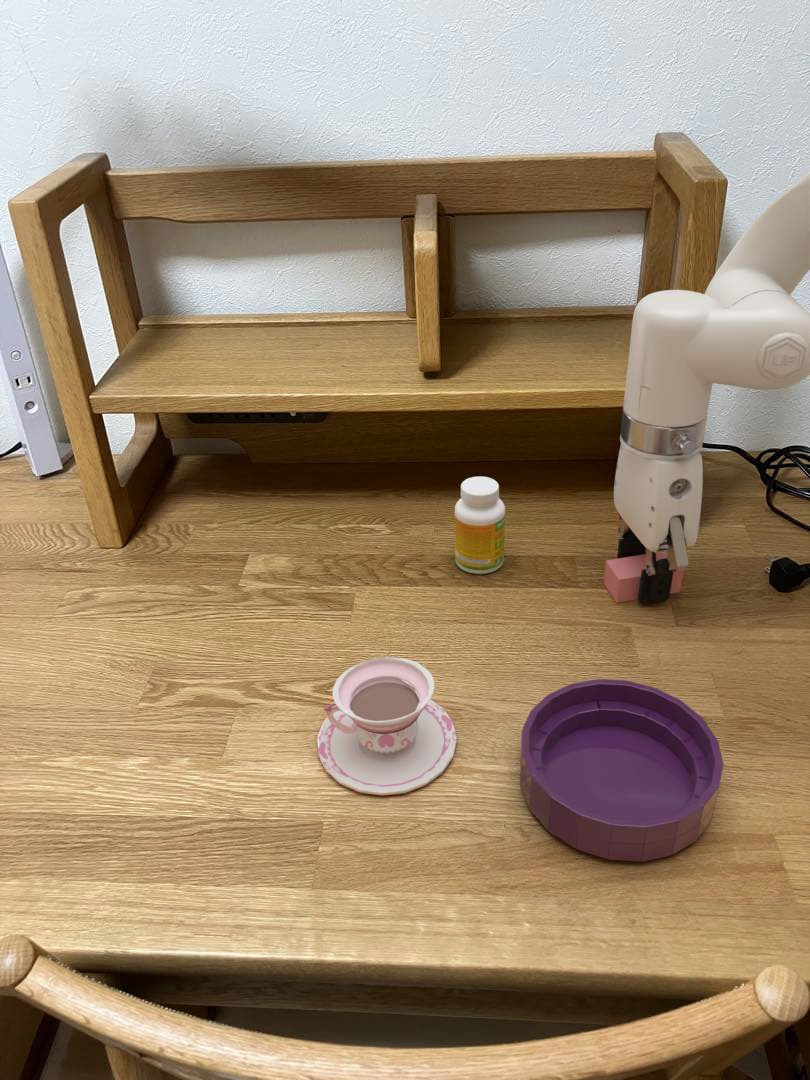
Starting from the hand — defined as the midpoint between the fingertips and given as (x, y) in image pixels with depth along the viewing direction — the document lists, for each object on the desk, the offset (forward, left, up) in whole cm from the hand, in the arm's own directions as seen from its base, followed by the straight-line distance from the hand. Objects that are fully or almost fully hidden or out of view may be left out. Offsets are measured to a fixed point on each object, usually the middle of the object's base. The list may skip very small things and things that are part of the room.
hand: (641, 583), depth 93 cm
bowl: (+13, +24, -1) cm, 27 cm away
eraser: (0, 0, -1) cm, 1 cm away
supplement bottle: (+15, -9, -1) cm, 18 cm away
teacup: (+30, +15, -1) cm, 34 cm away
